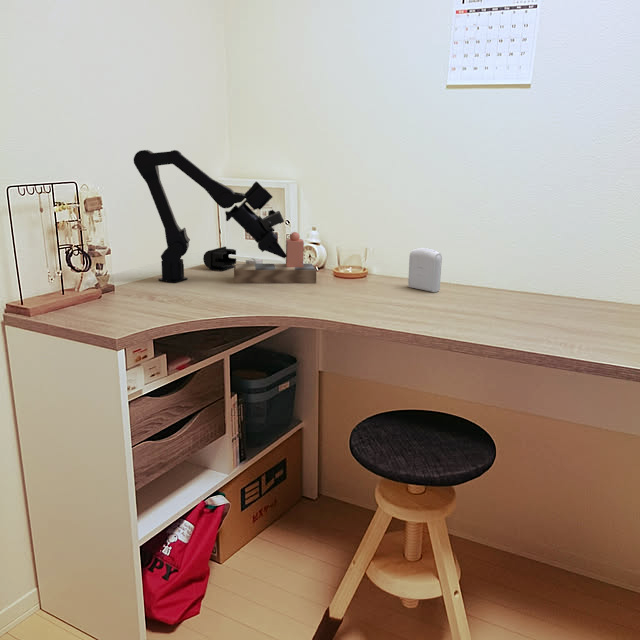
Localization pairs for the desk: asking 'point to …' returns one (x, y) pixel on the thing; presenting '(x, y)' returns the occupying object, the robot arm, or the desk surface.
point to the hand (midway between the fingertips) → (285, 256)
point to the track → (273, 273)
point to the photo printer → (425, 269)
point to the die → (254, 261)
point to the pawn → (294, 251)
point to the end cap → (219, 259)
